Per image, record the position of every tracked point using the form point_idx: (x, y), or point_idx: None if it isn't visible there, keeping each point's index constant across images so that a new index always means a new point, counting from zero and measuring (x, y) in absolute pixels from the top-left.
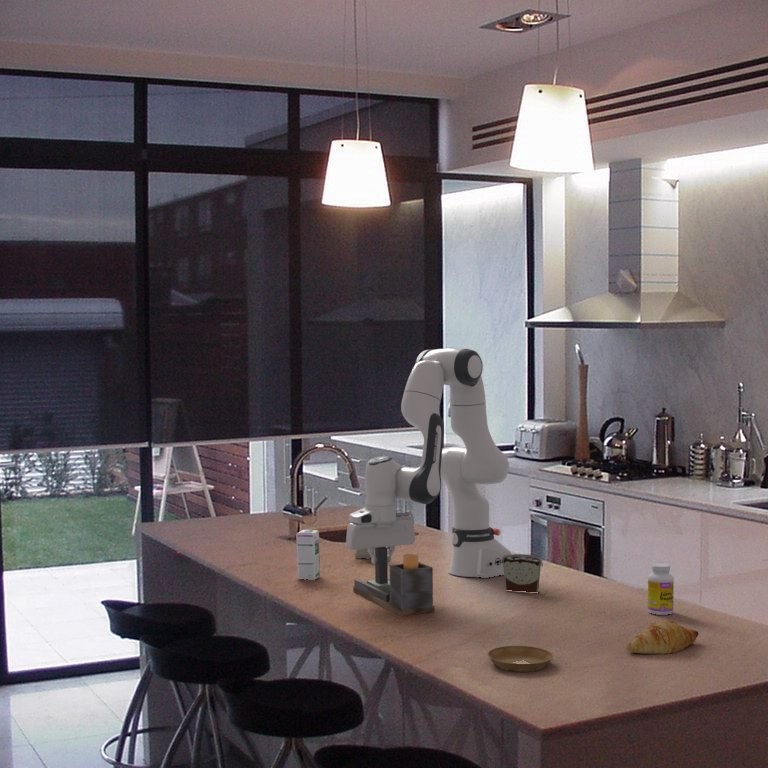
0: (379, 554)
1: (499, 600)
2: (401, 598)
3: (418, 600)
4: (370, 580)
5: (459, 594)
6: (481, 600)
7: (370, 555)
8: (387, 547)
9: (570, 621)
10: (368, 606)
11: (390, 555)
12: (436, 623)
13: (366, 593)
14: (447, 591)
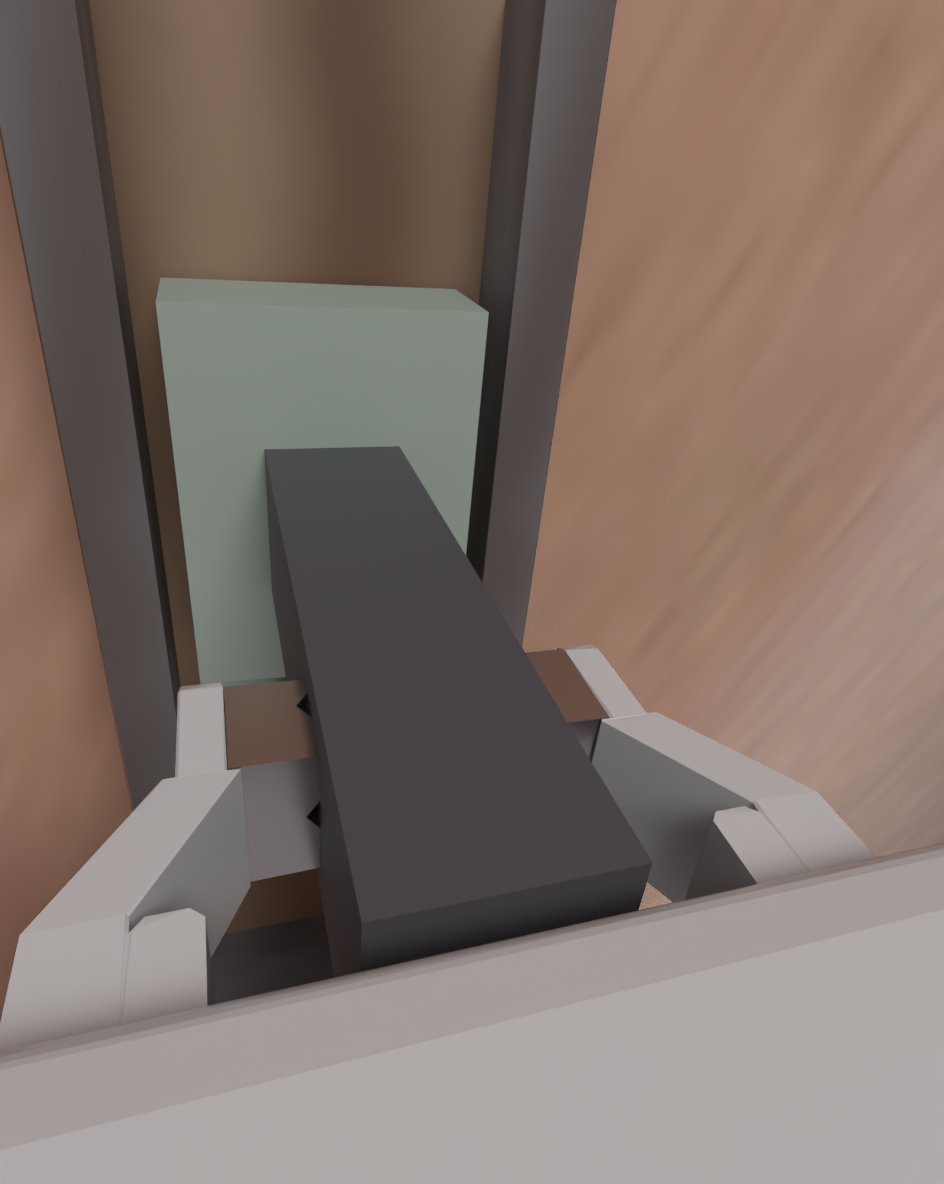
0: (334, 970)
1: (900, 830)
2: None
3: None
4: (226, 317)
5: (878, 644)
6: (839, 811)
7: (139, 823)
8: (729, 849)
9: None
10: (3, 791)
11: None
12: None
13: (74, 510)
14: (900, 527)
